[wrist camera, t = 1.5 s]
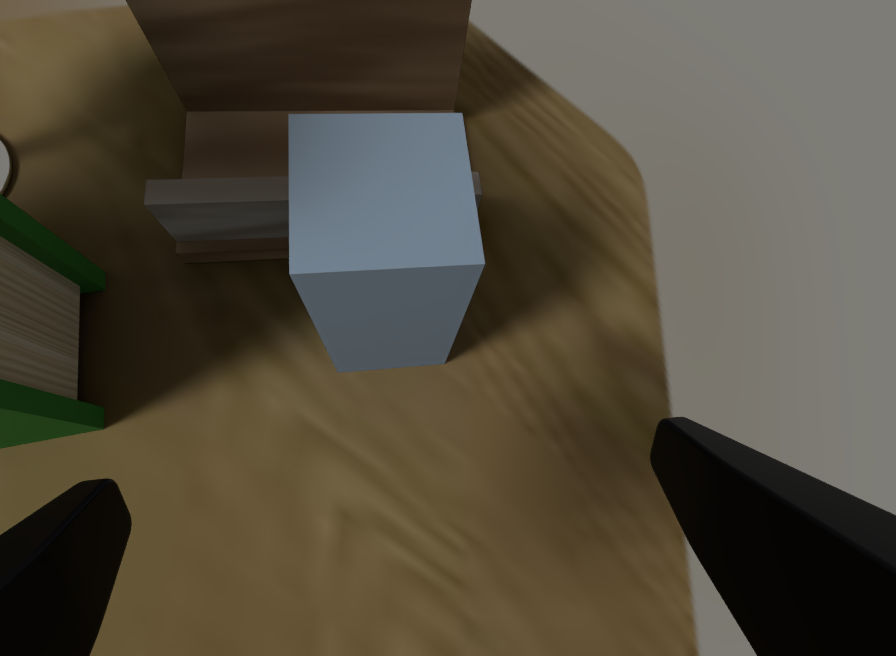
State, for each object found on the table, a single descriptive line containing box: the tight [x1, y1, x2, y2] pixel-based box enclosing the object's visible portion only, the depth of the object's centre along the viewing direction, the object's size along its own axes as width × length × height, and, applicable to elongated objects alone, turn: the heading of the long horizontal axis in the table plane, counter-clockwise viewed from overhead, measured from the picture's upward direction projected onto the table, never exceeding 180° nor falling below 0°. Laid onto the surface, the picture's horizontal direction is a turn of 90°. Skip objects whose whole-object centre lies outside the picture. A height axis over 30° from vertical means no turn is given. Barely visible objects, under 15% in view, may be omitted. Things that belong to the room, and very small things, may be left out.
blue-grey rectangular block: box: [289, 113, 485, 373], centre depth 18 cm, size 5×5×10 cm
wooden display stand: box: [126, 0, 482, 263], centre depth 19 cm, size 10×14×13 cm
